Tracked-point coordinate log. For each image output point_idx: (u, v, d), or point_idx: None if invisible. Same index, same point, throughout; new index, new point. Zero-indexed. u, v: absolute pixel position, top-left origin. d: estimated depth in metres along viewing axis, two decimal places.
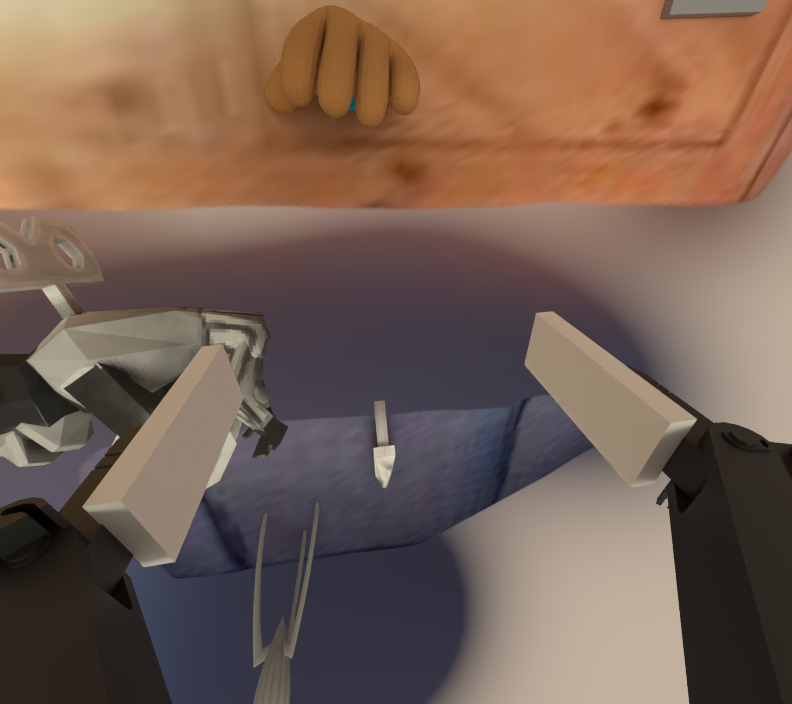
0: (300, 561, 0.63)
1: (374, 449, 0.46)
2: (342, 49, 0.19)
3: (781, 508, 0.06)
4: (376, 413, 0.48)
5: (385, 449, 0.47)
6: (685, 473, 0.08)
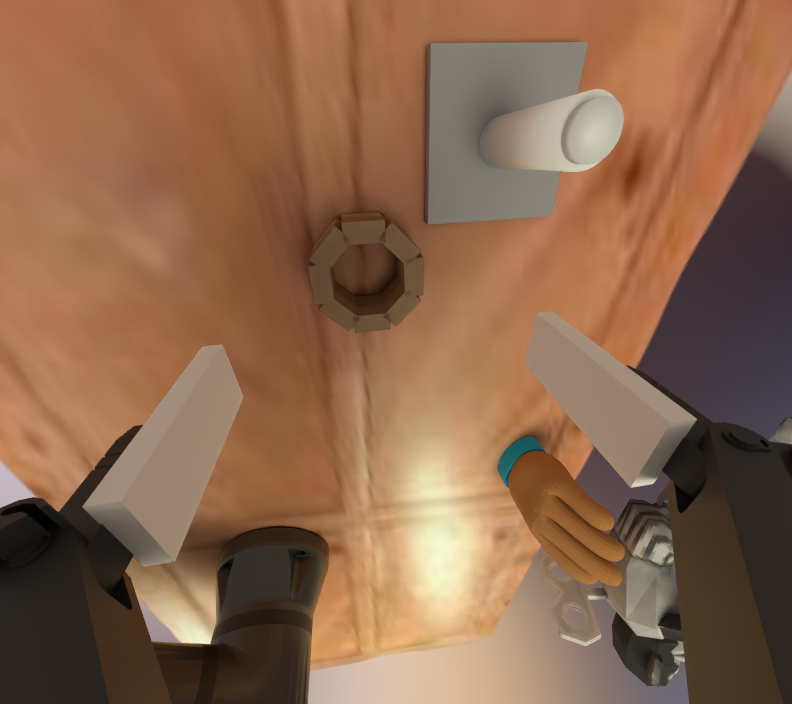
0: None
1: None
2: (583, 562, 0.32)
3: (781, 508, 0.06)
4: None
5: None
6: (685, 473, 0.08)
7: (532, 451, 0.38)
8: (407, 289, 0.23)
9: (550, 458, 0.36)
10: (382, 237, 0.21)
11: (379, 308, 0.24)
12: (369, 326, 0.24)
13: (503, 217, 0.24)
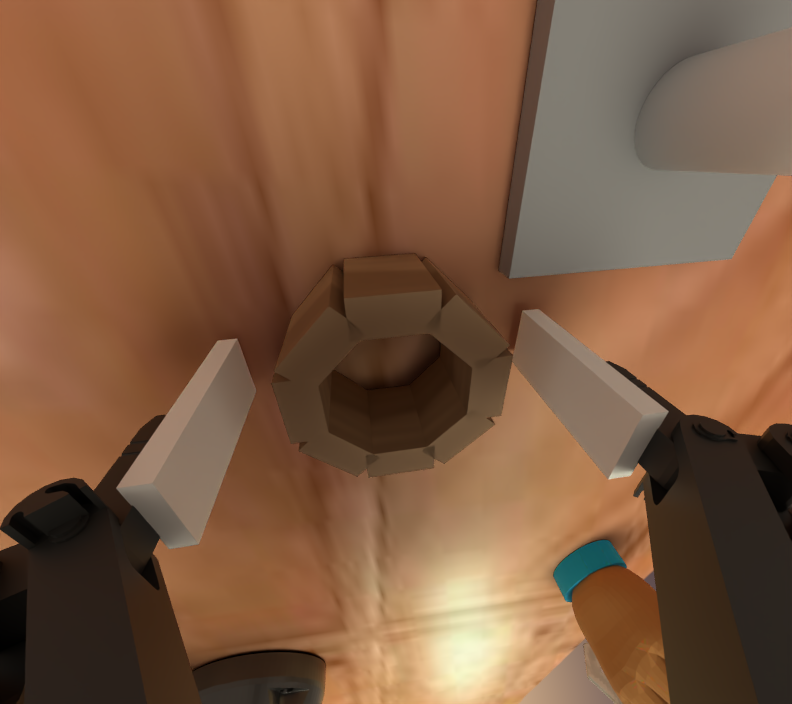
0: None
1: None
2: None
3: (748, 496, 0.06)
4: None
5: None
6: (659, 465, 0.08)
7: (611, 569, 0.27)
8: (473, 408, 0.12)
9: (643, 587, 0.25)
10: (433, 323, 0.09)
11: (413, 429, 0.13)
12: (395, 466, 0.13)
13: (647, 263, 0.13)
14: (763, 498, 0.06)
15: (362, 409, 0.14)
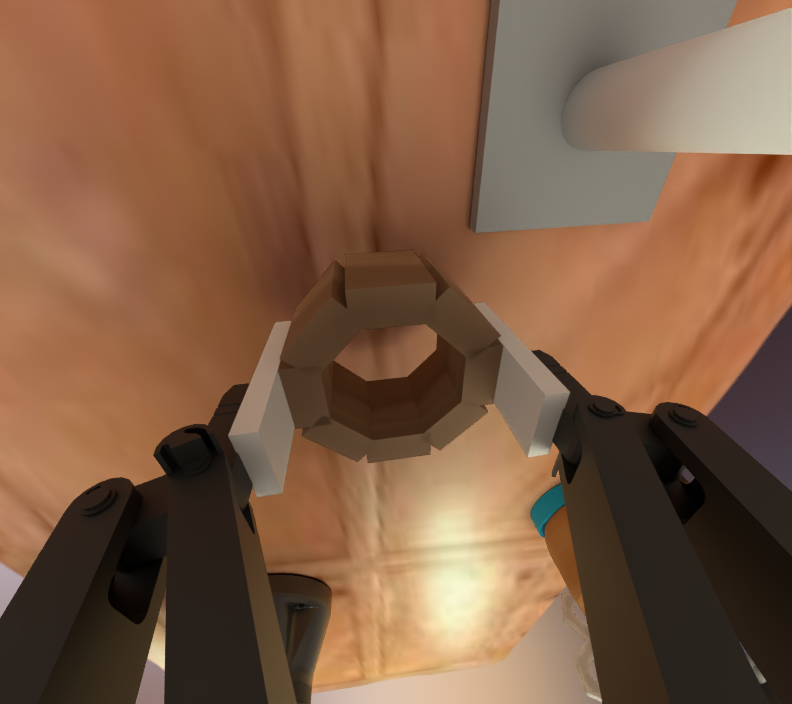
0: None
1: None
2: None
3: (636, 466, 0.07)
4: None
5: None
6: (567, 446, 0.09)
7: None
8: (467, 396, 0.12)
9: None
10: (428, 314, 0.10)
11: (410, 417, 0.14)
12: (393, 452, 0.13)
13: (582, 223, 0.17)
14: (647, 465, 0.07)
15: (362, 399, 0.15)
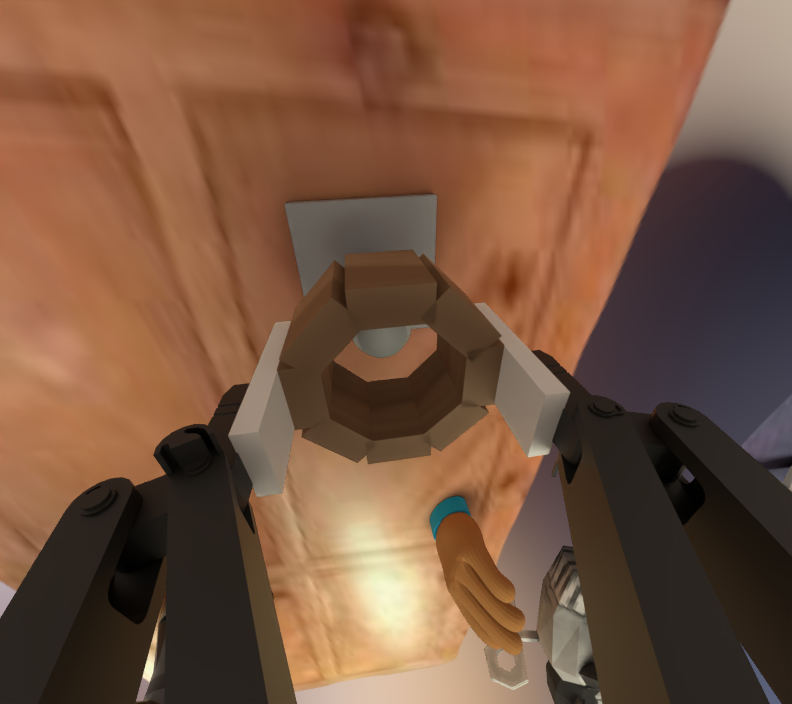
0: None
1: None
2: (488, 630, 0.34)
3: (636, 466, 0.07)
4: None
5: None
6: (567, 446, 0.09)
7: (455, 513, 0.40)
8: (467, 397, 0.12)
9: (468, 523, 0.38)
10: (429, 314, 0.10)
11: (411, 418, 0.14)
12: (393, 453, 0.13)
13: None
14: (647, 465, 0.07)
15: (362, 399, 0.15)
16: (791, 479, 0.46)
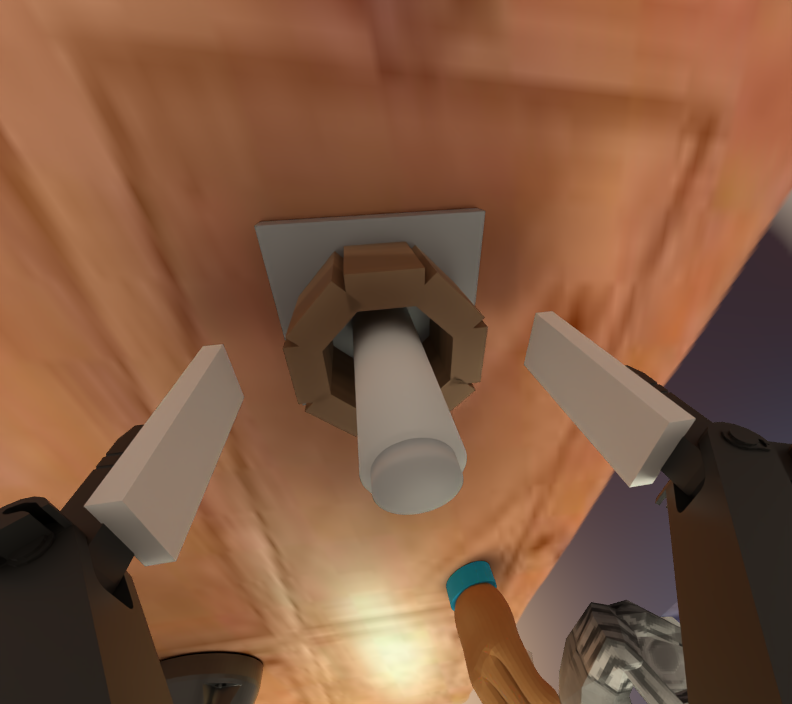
0: None
1: None
2: None
3: (780, 508, 0.06)
4: None
5: None
6: (684, 473, 0.08)
7: (479, 586, 0.33)
8: (455, 374, 0.13)
9: (496, 602, 0.31)
10: (418, 297, 0.11)
11: None
12: None
13: None
14: None
15: None
16: None
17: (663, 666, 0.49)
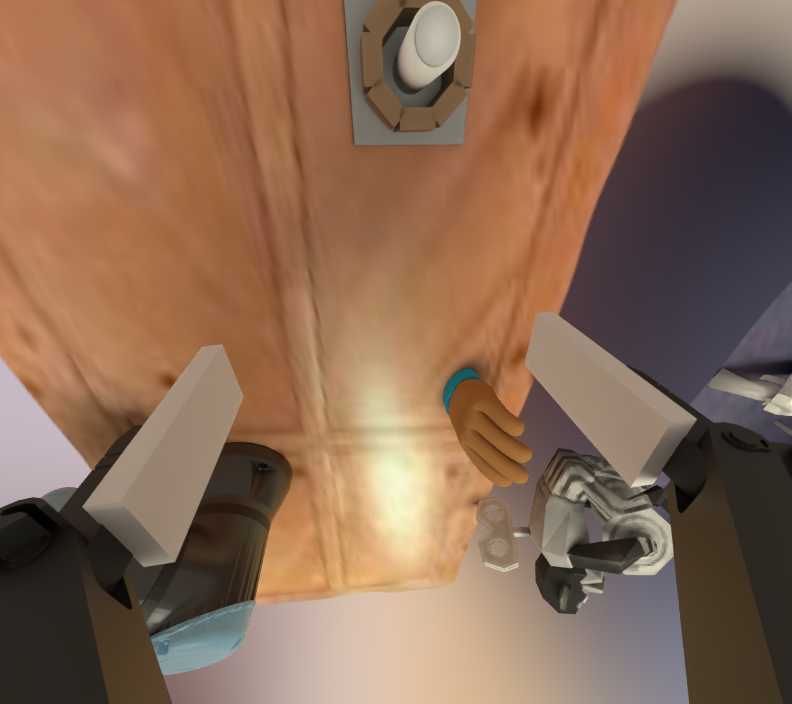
0: None
1: (766, 409, 0.46)
2: (497, 464, 0.37)
3: (781, 508, 0.06)
4: (722, 389, 0.49)
5: (776, 402, 0.45)
6: (685, 473, 0.08)
7: (468, 379, 0.43)
8: (456, 76, 0.23)
9: (481, 382, 0.41)
10: (437, 0, 0.20)
11: None
12: (414, 122, 0.24)
13: (420, 142, 0.28)
14: None
15: None
16: (791, 375, 0.49)
17: None
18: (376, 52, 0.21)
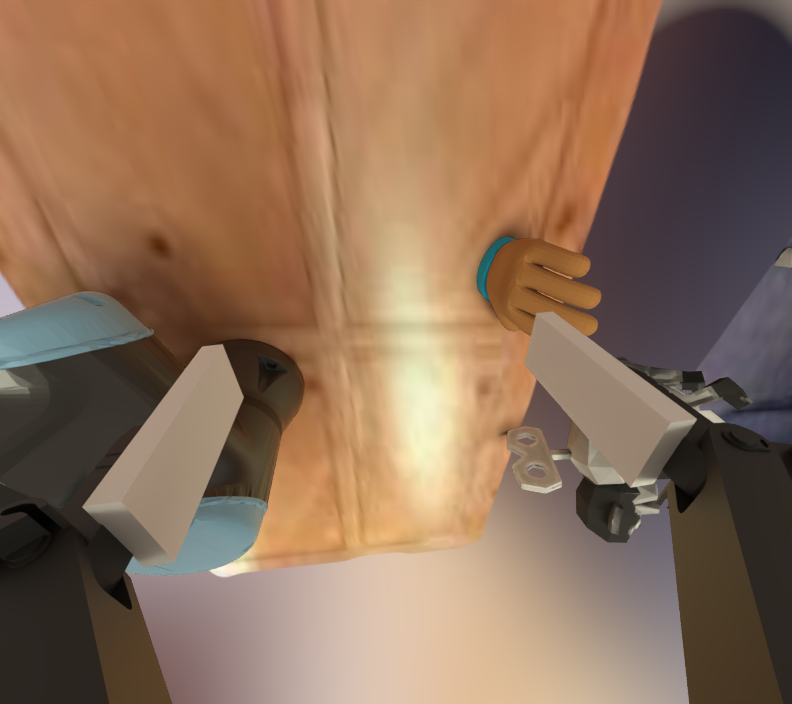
0: None
1: None
2: (557, 314, 0.30)
3: (781, 508, 0.06)
4: None
5: None
6: (685, 473, 0.08)
7: None
8: None
9: (527, 238, 0.35)
10: None
11: None
12: None
13: None
14: None
15: None
16: None
17: None
18: None
